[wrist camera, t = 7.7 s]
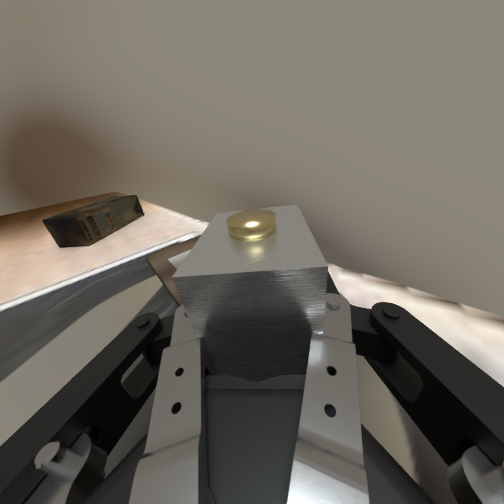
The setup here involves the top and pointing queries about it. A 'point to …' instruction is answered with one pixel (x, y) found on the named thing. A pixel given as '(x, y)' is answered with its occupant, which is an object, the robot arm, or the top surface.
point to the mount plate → (171, 264)
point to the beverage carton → (93, 221)
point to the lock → (255, 292)
